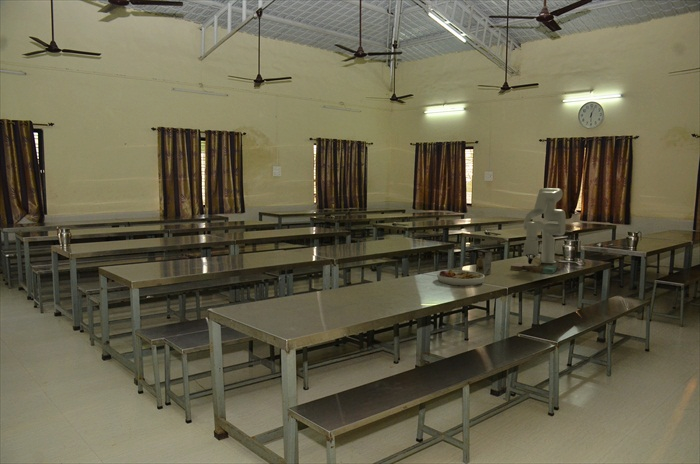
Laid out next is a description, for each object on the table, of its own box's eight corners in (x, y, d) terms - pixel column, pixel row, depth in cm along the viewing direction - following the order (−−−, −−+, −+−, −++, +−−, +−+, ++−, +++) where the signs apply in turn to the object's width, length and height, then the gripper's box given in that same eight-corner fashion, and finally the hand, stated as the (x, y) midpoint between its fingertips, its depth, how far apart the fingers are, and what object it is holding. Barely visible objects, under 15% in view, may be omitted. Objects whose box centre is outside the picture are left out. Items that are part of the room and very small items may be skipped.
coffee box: (475, 272, 376) (476, 249, 374) (482, 271, 378) (483, 249, 377) (483, 274, 368) (484, 251, 366) (491, 273, 370) (492, 251, 368)
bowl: (467, 276, 362) (467, 265, 361) (494, 285, 334) (494, 272, 333) (428, 279, 351) (428, 267, 350) (452, 288, 323) (453, 275, 322)
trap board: (515, 266, 402) (516, 262, 402) (556, 270, 388) (556, 266, 388) (510, 269, 388) (510, 265, 387) (552, 273, 373) (552, 269, 373)
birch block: (533, 263, 389) (536, 256, 388) (539, 266, 387) (542, 259, 385) (530, 263, 386) (533, 257, 384) (537, 266, 383) (539, 260, 381)
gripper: (543, 239, 386) (542, 264, 388) (522, 237, 393) (521, 262, 395) (541, 240, 379) (539, 265, 381) (519, 238, 387) (518, 263, 389)
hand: (530, 263), depth 388 cm, fingers closed
